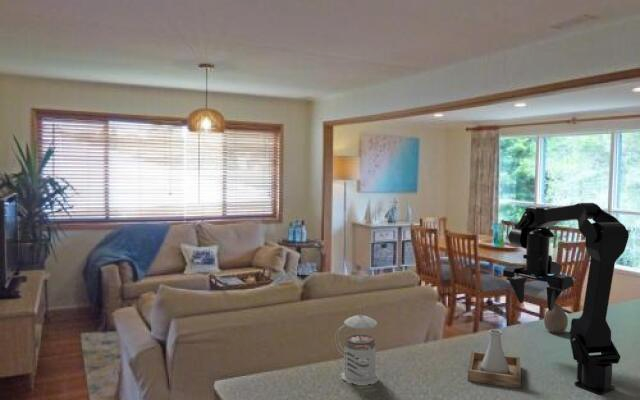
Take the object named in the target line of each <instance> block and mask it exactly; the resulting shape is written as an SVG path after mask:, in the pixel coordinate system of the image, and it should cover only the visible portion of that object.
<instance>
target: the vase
mask: <svg viewBox="0 0 640 400" xmlns="http://www.w3.org/2000/svg"><path fill="white" fill-rule="evenodd" d="M543 323H544V324H543V325H544V327H545V328H546V330H547V331H548V332H549V333H551V334H555V335H556V334H563V333H564V332H565V331H566V330H567V328H568V324H569V317H568V315H567V313H566V312H565V310H564V309H563V308H562V305H561V304H559V303H555V305H554V308H553V310H552V311H549V309H547V310H546V311H545V313H544V317H543Z"/></svg>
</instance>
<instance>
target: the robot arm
mask: <svg viewBox="0 0 640 400" xmlns="http://www.w3.org/2000/svg"><path fill="white" fill-rule="evenodd" d="M590 220H592V221H593V222H591V221H590ZM570 221H577V224H578V231H579V232H580V233H581V234H582V236H583V237H584V239H585V240H584V241H585V243H584V246H585V248H586V250H587V253H588V255H589V257H590V262H589V269H588V274H587V275H588V276H587V281H586V282H587V283H586V287H585V295H584V300H583V301H584V302H583V309H582V314H581V316H580V317H577V318H571V319H572V320H571V322H570V329H569V332H568V334H569V335H570V336H569V341H570V346H571V352H572V359H573V360H574V361H576V363H577V366H576V380H577V381H575V382H574V385H575V386H577V387H578V388H579V387H580V388H582V389H585V390H587V391H590V392H592V393H595V394H598V395H602V394H606V393H608V392H610V391H613V390H615V389H616V386H615V385H612V380H613V364H615V365H616V364H619V363H620V360H621V354H620V353H619V350H617V347H616V346H615V343H614V342H613V341H612V330H611V327H610V325H609V324H608V321H607V315H608V309H609V308H608V307H609V303H610V301H609V300H610V296H611V290H612V283H613V276H614V271H615V265H616V261H618V259H619V258H620V257H621V256H622V255H623V253H624V252H625V251H626V248H627V244H628V242H629V238H630V234H629V230H628V229H627V228H626V225H624V224H623V223H621V222H620V220H618V218H617V217H615V216H613V215H611V214H610V213H608V212H606V211H605V210H603V209H602V208H601V206H600V205H599V204H597V203H594V202H578V203H576V204H570V205H563V206H555V207H552V206H528V207H526V208H525V211H524V212H523V214H522V215H521V218H520V220H519V221H518V222H517V223H514V227H512V229H510V231H509V232H508V234H507V235H508V236H507V240H508V242H509V243H510V244H511V245H512V246H513V247H514V246H515V247H517V248H521V249H525V250H526V251H525V252H526V254H523V256H522V258H523V259H525V266H521V265H508V266H504V268H503V270H502V277H505V278H506V281H508V282H509V284H510V286H511V287H512V289H513V291H514V293H515V297H516V298H517V300H518V302H519V303H520V304H523V303H524V299H525V284H526V281H527V280H528V279H532V280H537V281H540V282H541V281H542V282H545V283H547V285H548V286H547V287H546V300H547V308H548V309H549V311H552V310H553V308H554V305H555V304H557V300H558V298H559V296H560V295H561V293H562V292H563V291H564V290H565V291H566V290H568V289H569V288H572V287H574V283H575V282H574V281H575V280H574V278H573V277H572V276H570V275H567V274H562V273H561V270H562V266H563V265H562V264H560V263H558V262H555V261H553V256H552V255H550V254H549V252H550V238H555V235H554V232H552V231H551V230H550V227H551V228H552V227H554V226H556V225H557V224H558V223H561V222H570ZM548 309H547V310H548ZM597 353H598V354H597ZM599 353H600V354H599Z"/></svg>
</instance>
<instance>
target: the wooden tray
mask: <svg viewBox="0 0 640 400" xmlns="http://www.w3.org/2000/svg"><path fill="white" fill-rule="evenodd" d="M485 354H486V352H481V351H473V350H472V351H471V354H470V359H469V364H468V368H467V381H468V382H469V381H471V382H477V383H483V384H489V385H498V386H502V387H503V386H505V387H510V388H511V387H512V388H519V389H521V387H522V386H521V383H522V375H521V374H522V373H521V372H522V371H521V359H520V358H521V357H519V356H515V355H514V356H512V355H506V354H504V355H505V359H506V361H507V364H508V367H509V373H508V374H499V373H492V372H485V371H483V370H481V369H480V366H481V364H482V361H483V359H484V356H485Z"/></svg>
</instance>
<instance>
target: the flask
mask: <svg viewBox="0 0 640 400" xmlns="http://www.w3.org/2000/svg"><path fill="white" fill-rule="evenodd" d="M488 333H489V341H488V346H487V349H486V351H485V353H486V354H485V356H484V359H483V361H482V364H481V366H480V369H481V370H483V371H485V372H492V373H499V374H508V373H509V367H508V364H507V361H506V359H505V355H506V354H505V351H504V348H503V344H502V340H501V339H502V338H501V337H502V334H503V331H502V330H499V329H489V330H488Z"/></svg>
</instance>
